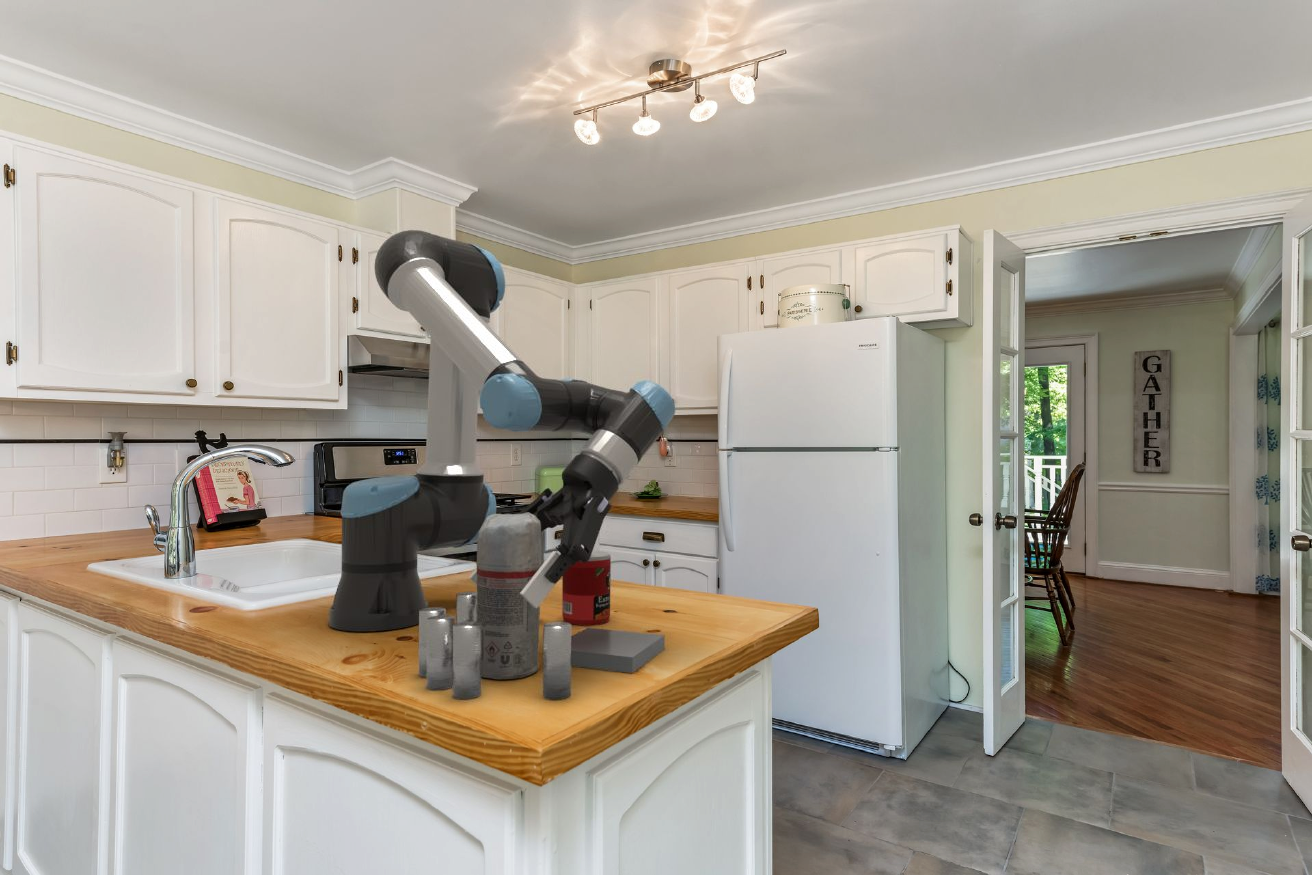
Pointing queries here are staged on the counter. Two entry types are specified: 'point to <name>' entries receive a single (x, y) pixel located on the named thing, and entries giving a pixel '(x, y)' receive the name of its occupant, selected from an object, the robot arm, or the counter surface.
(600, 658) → the slate board
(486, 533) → the spray can
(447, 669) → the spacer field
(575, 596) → the canned food
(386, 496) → the robot arm
